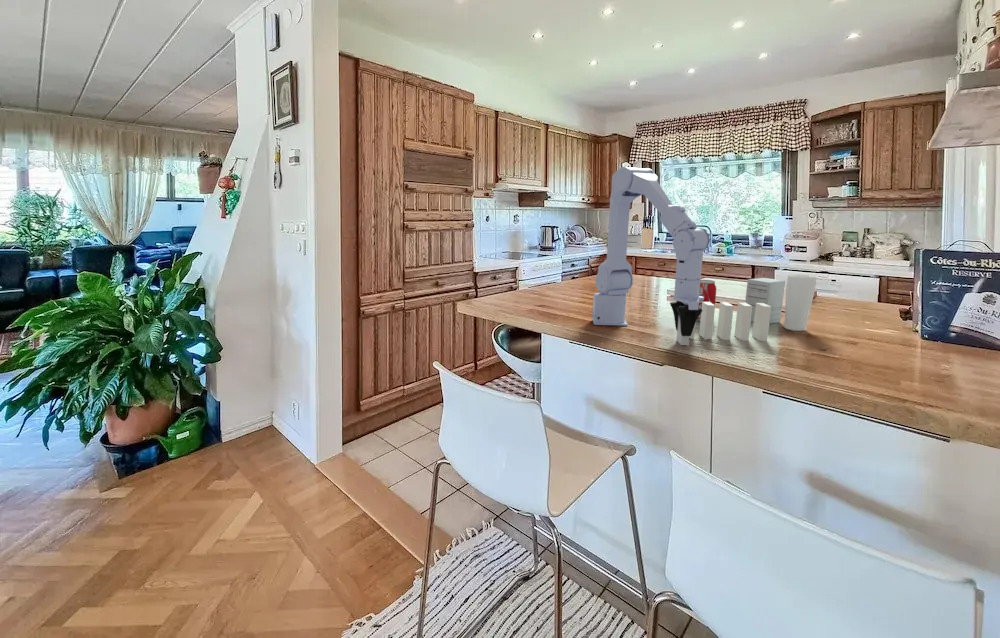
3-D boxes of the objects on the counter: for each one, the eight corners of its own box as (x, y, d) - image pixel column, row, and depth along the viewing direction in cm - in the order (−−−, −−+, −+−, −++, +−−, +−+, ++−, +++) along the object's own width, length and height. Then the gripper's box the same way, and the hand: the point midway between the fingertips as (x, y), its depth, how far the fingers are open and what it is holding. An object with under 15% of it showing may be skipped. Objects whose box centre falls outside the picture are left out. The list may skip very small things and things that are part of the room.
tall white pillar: (805, 327, 139) (813, 275, 136) (811, 333, 133) (819, 278, 129) (778, 325, 141) (785, 274, 138) (783, 331, 135) (790, 277, 131)
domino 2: (686, 338, 126) (691, 304, 124) (681, 333, 131) (686, 301, 129) (693, 339, 126) (698, 304, 124) (688, 334, 131) (693, 301, 129)
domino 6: (759, 341, 124) (763, 306, 122) (752, 336, 129) (756, 302, 127) (766, 341, 124) (771, 306, 122) (759, 336, 129) (763, 303, 127)
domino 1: (681, 345, 120) (684, 309, 118) (676, 340, 125) (679, 306, 123) (688, 345, 120) (691, 309, 118) (683, 340, 124) (686, 306, 122)
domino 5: (741, 340, 125) (744, 305, 123) (734, 335, 130) (738, 302, 128) (748, 340, 125) (752, 306, 123) (741, 336, 129) (745, 302, 127)
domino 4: (722, 339, 125) (726, 305, 123) (716, 335, 130) (720, 302, 128) (729, 340, 125) (733, 305, 123) (723, 335, 130) (727, 302, 128)
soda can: (715, 323, 144) (720, 283, 141) (690, 322, 145) (694, 282, 142) (709, 318, 151) (714, 279, 148) (685, 317, 152) (689, 278, 149)
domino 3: (704, 339, 126) (707, 305, 124) (699, 334, 131) (702, 301, 129) (711, 339, 126) (715, 305, 124) (706, 335, 130) (709, 301, 128)
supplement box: (758, 317, 152) (763, 277, 149) (781, 322, 145) (786, 280, 143) (742, 320, 149) (746, 278, 146) (764, 325, 142) (769, 281, 139)
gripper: (714, 283, 111) (708, 340, 114) (696, 275, 125) (692, 326, 128) (682, 282, 112) (677, 340, 115) (668, 274, 126) (664, 326, 129)
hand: (683, 333), depth 122 cm, fingers closed on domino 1, 5 cm apart
